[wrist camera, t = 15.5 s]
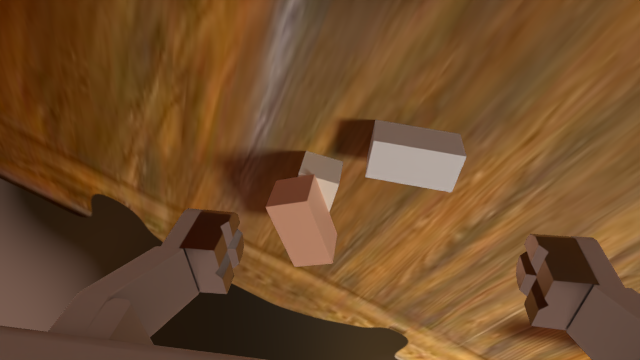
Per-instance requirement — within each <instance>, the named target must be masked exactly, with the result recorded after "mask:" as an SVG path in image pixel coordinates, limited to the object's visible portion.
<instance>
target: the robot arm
mask: <svg viewBox="0 0 640 360" xmlns="http://www.w3.org/2000/svg"><path fill="white" fill-rule="evenodd" d="M239 224H240V221H239V217H238V214H236V213H234V212H223V211H213V210H199V209H189V208H188V209H187V210H185V211H184V212H183V214H182V215H181V217H180V218H179V220H178V221H177V223H176V224H175V226H174V227H173V229H172V230H171V232H170V233H169V235H168V236H167V238H166V239H165V241H164V243H163V244H162V246H161V247H154V248H153V249H151V250H149V251H148V252H146V253H144V254H143V255H141V256H139V257H138V258H136V259H134V260H133V261H131V262H129V263H127V264H126V265H124V266H122V267H121V268H119V269H117V270H116V271H114V272H112V273H110V274H109V275H107V276H105V277H104V278H102V279H100V280H99V281H97V282H96V283H94V284H92V285H90V286H89V287H87V288H85V289H84V290H82V291H80V292H78V294H77V295H76V296H75V298H74V299H73V300H72V302H71V303H70V304H69V305H68V306H67V308H66V309H65V310H64V312H63V313H62V314H61V315H60V317H59V318H58V319H57V321H56V322H55V323H54V324H53V326H52V327H51V328H50V330H49V331H48V332H46V331H38V330H30V329H22V328H14V327H6V326H0V360H264V359H256V358H248V357H240V356H232V355H225V354H217V353H209V352H201V351H194V350H186V349H178V348H170V347H162V346H155V345H153V343H152V342H151V339H150V337H151V336H152V335H153V334H154V333H155V332H156V331H157V330H159V328H161V327H162V326H163V325H164V324H165V323H166V322H167V321H169V319H171V318H172V317H173V316H174V315H175V314H176V313H178V312H179V311H180V310H181V309H182V308H183V307H184V306H186V305H187V304H188V303H189V302H190V301H191V300H192V299H193V298H194V297H196V296H197V295H198V294H199V292H207V293H220V294H227V292H228V289H229V287H230V285H231V283H232V280H233V278H234V272H233V268H234V267H236V266H237V265H238V264H239V263H240V261H241V258H242V254H243V249H244V239H243V234H242V233H241V232H240V231H239V230H238V229H237V228H238V226H239ZM524 245H525V248H526V250H527V251H526V252H525V253H523V254H522V255H520V257H519V259H518V262H517V269H516V277H517V283H518V286H519V290H520V291H521V292H523V293H524V294H525V295H526V296H527V298H526V301H525V303H524V305H525V308H526V311H527V315H528V318H529V321H530V324H531V326H536V327H544V328H552V329H560V330H567V331H566V332H567V333H568V334H569V336H570V337H571V338H572V339H573V340H574V341H575V342H576V343H577V344H578V345H579V346H580V347H581V348H582V349H583V351H584V352H585V353H586V354H587V355H588V356H589V357H590V358H591V359H592V360H640V294H639V293H637V292H636V291H634V290H633V289H631V288H625V287H624V285H623V284H622V282H621V280H620V279H619V277H618V275H617V273H616V272H615V270H614V268H613V267H612V265H611V263H610V262H609V260H608V258H607V257H606V255H605V253H604V252H603V250H602V248H601V247H600V245H599V243H598V242H597V240H595V239H594V238H589V237H569V236H554V235H539V234H530V235H529V236H528V237H527V239H526V241H525V244H524Z"/></svg>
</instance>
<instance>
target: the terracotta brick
mask: <svg viewBox="0 0 640 360" xmlns="http://www.w3.org/2000/svg"><path fill="white" fill-rule="evenodd" d="M266 209H267V211H268V213H269V215H270V217H271V219H272V221H273V224H274V226H275V228H276V230H277V232H278V234H279V236H280V238H281V240H282V242H283V244H284V246H285V248H286V250H287V252H288V254H289V256H290V258H291V260H292V262H293V264H294V267H297V266H309V265H320V264H331V263H333V257H334V251H335V245H336V239H337V233H336V230H335V227H334V225H333V222H332V219H331V217H330V214H329V211H328V208H327V206H326V203H325V200H324V198H323V195H322V192H321V190H320V187H319V184H318V182H317V179H316V176H315V174H313V175H307V176H301V177H294V178H288V179H282V180H276V182H275V185H274V187H273V190H272V192H271V195H270V197H269V199H268V202H267V204H266Z"/></svg>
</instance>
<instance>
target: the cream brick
mask: <svg viewBox="0 0 640 360" xmlns="http://www.w3.org/2000/svg"><path fill="white" fill-rule="evenodd" d="M342 166H343V161H339V160H336V159H332V158H329V157H325V156H322V155H318V154H315V153H312V152H308V151H306V153H305V156H304V159H303V162H302V165H301V168H300V171H299V174H298V177H301V176H307V175H313V174H315V176H316V179H317V182H318V184H319V187H320V190H321V192H322V195H323V198H324V200H325V203H326V206H327V208H328V211H330V209H331V206H332V203H333V200H334V197H335V194H336V192H337V189H338V186H339V182H340V177H341V171H342Z"/></svg>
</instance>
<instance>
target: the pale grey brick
mask: <svg viewBox="0 0 640 360" xmlns="http://www.w3.org/2000/svg"><path fill="white" fill-rule="evenodd" d="M465 159H466V153H465V150H464V146H463V142H462V139H461V135H460V134H457V133H451V132H445V131H439V130H433V129H427V128H421V127H415V126H410V125H404V124H398V123H392V122H386V121H380V120H375V124H374V128H373V133H372V137H371V142H370V146H369V151H368V156H367V167H366V177H368V178H374V179H379V180H385V181H390V182H396V183H402V184H407V185H413V186H418V187H424V188H430V189H435V190H441V191H447V192H452V190H453V188H454V185H455V183H456V181H457V178H458V176H459V173H460V171H461V168H462V166H463V164H464V161H465Z"/></svg>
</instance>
